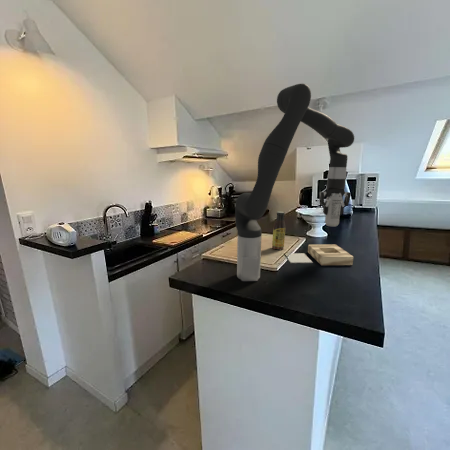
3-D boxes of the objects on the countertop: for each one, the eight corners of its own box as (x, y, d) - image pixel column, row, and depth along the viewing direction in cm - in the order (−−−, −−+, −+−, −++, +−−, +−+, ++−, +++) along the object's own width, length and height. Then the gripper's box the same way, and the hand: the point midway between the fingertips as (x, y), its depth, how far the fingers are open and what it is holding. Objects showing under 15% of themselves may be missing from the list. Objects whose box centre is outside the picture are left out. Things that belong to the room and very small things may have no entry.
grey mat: (312, 262, 118) (312, 262, 118) (290, 263, 118) (290, 262, 118) (303, 254, 130) (304, 253, 130) (284, 254, 130) (284, 253, 130)
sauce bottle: (275, 251, 135) (276, 213, 130) (269, 247, 141) (271, 211, 136) (286, 249, 136) (288, 212, 132) (280, 246, 142) (282, 210, 138)
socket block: (352, 265, 116) (353, 256, 115) (321, 265, 116) (322, 256, 115) (334, 251, 133) (335, 244, 133) (307, 252, 133) (308, 244, 132)
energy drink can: (334, 223, 124) (337, 192, 121) (341, 226, 118) (345, 193, 115) (322, 224, 123) (325, 192, 120) (328, 226, 117) (332, 193, 114)
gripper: (324, 177, 112) (320, 216, 116) (356, 178, 113) (352, 216, 116) (317, 177, 119) (314, 213, 123) (348, 177, 120) (344, 213, 124)
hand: (332, 214), depth 120 cm, fingers closed on energy drink can, 6 cm apart
